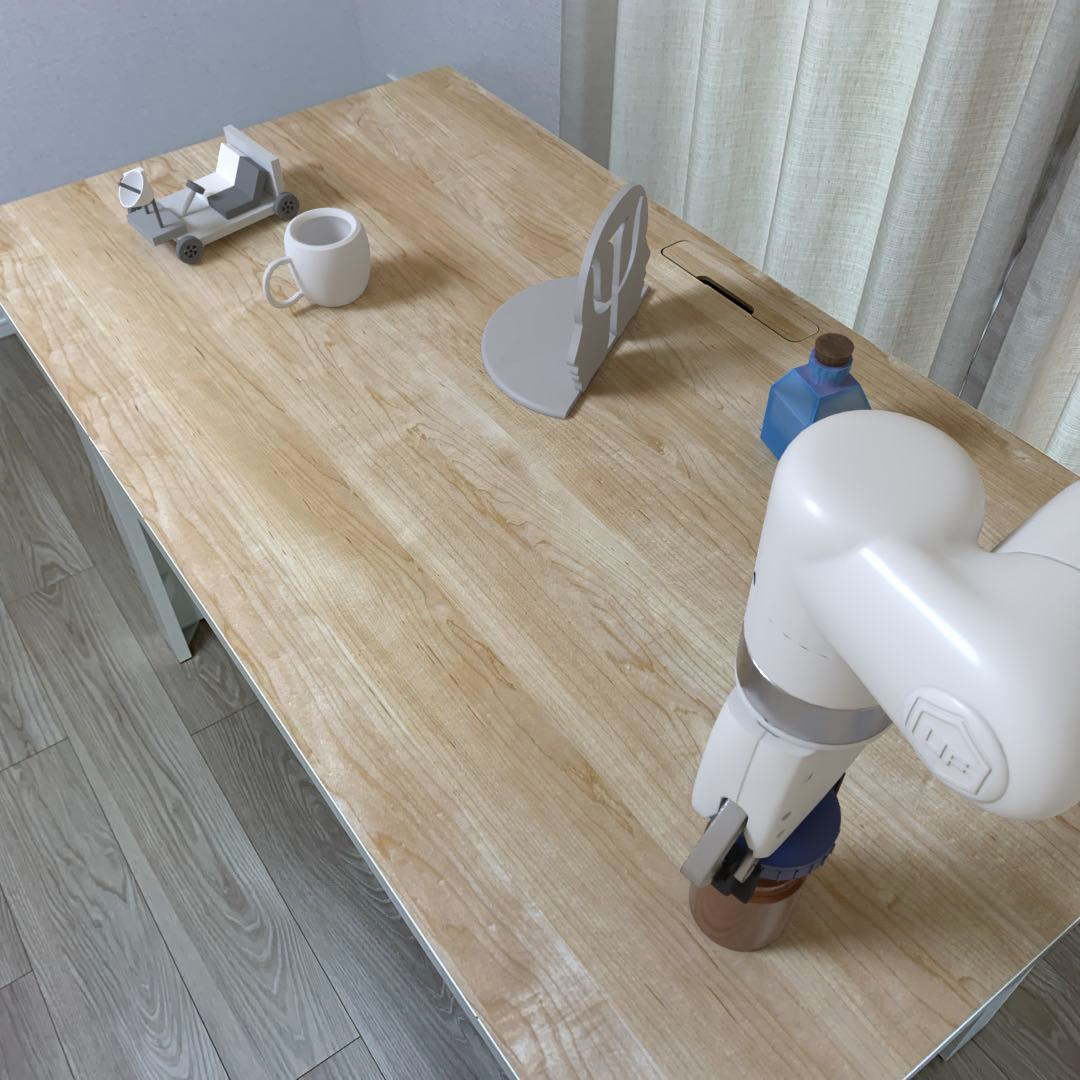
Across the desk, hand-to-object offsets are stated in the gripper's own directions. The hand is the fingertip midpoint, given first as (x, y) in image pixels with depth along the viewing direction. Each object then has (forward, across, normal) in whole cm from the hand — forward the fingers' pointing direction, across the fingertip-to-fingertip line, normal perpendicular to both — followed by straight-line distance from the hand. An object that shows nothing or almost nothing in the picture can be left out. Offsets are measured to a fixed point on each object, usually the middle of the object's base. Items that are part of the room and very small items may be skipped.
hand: (767, 834), depth 59 cm
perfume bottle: (+11, -37, -21) cm, 44 cm away
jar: (+11, 0, 0) cm, 11 cm away
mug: (+10, -21, -71) cm, 75 cm away
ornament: (+10, -33, -50) cm, 60 cm away
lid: (-3, 0, 0) cm, 3 cm away
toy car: (+10, -20, -91) cm, 94 cm away
